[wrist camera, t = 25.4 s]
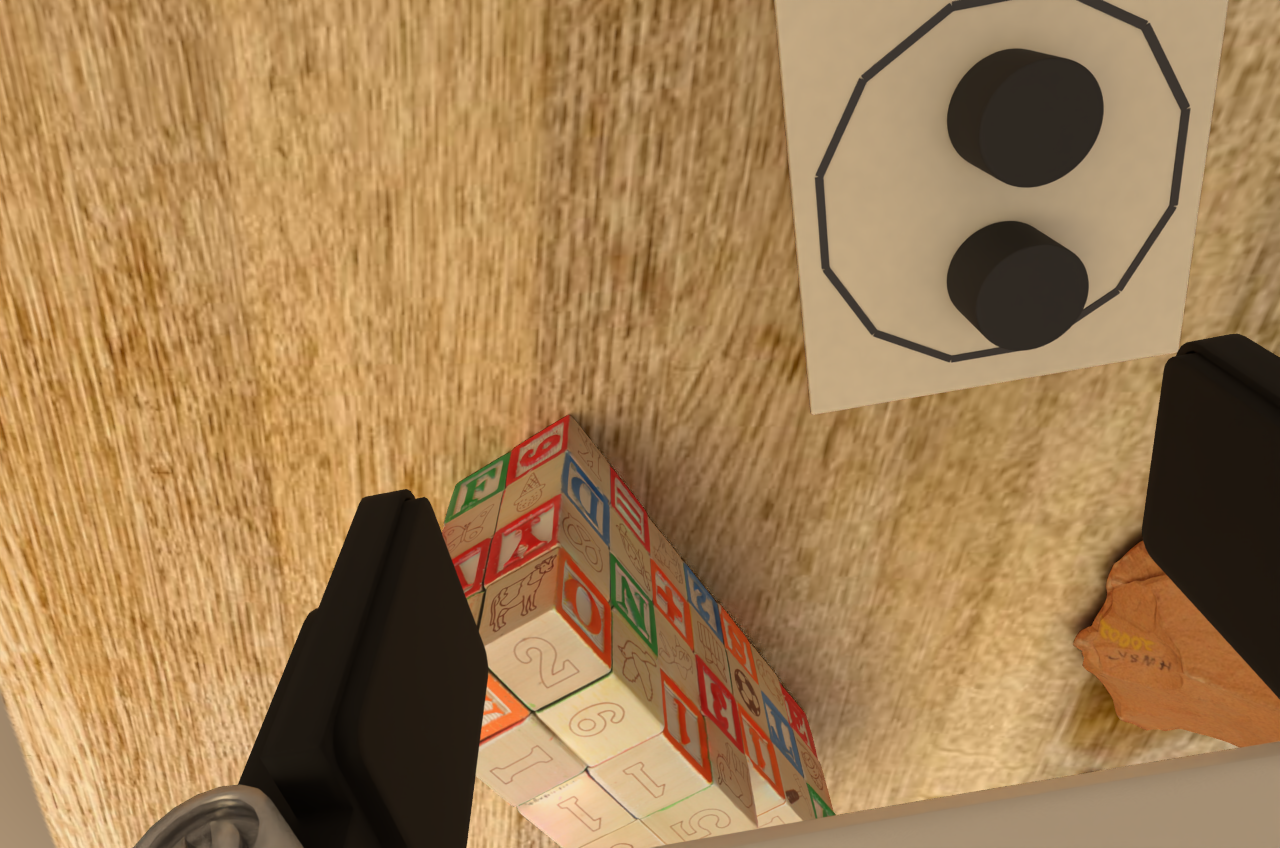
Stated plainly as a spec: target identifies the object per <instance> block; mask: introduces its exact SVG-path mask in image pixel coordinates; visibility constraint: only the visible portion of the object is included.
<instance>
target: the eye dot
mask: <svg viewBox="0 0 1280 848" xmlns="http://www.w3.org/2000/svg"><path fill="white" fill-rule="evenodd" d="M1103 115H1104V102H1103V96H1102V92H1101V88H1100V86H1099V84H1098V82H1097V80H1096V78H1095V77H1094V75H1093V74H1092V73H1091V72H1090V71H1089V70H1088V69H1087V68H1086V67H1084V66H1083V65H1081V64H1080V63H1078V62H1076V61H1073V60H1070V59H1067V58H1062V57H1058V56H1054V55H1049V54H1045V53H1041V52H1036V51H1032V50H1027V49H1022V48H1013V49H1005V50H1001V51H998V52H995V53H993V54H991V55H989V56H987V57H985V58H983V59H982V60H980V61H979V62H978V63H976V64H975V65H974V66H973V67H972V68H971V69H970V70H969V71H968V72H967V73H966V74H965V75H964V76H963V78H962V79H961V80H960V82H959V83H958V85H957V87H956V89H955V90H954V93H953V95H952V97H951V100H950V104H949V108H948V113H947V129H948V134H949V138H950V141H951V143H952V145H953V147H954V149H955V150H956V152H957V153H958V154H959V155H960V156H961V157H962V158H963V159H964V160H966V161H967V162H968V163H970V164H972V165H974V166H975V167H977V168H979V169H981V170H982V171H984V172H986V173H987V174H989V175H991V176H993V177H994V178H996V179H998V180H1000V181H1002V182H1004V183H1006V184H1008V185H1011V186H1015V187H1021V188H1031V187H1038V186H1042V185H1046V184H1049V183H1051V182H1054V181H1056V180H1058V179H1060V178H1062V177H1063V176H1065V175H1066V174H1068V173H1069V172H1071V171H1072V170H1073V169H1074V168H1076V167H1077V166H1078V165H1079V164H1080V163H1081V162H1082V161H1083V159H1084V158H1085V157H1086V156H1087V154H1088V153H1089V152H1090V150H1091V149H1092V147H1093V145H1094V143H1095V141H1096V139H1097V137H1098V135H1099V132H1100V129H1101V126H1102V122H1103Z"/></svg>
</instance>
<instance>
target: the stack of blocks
mask: <svg viewBox="0 0 1280 848" xmlns="http://www.w3.org/2000/svg"><path fill="white" fill-rule="evenodd" d="M442 535H443V538H444V540H445V543H446V546H447V548H448V551H449V554H450V556H451V559H452V562H453V564H454V567H455V570H456V572H457V575H458V578H459V580H460V583H461V586H462V588H463V591H464V594H465V596H466V599H467V601H468V604H469V607H470V609H471V612H472V615H473V617H474V620H475V623H476V625H477V628H478V631H479V633H480V636H481V639H482V641H483V644H484V647H485V650H486V654H487V660H488V682H487V690H486V698H485V705H484V713H483V721H482V729H481V737H480V744H479V752H478V760H477V768H476V777H478V778H479V779H480V780H481V781H483V782H484V783H485V784H486V785H487V786H488V787H490V788H491V789H492V790H493V791H494V792H495V793H497V794H498V795H499V796H500V797H502V798H503V799H504V800H505V801H506V802H508V803H509V804H510V805H512V806H513V807H517V809H518V812H519V813H520V814H522V815H523V816H524V817H525V818H526V819H527V820H528V821H530V822H531V823H532V824H534V825H535V826H536V827H537V828H538V829H539V830H540V831H541V832H543V833H544V834H545V835H547V836H548V837H549V838H550V839H552V840H553V841H554V842H555V843H556V844H557V845H559V846H560V847H561V848H650V847H656V846H662V845H668V844H673V843H679V842H685V841H690V840H696V839H702V838H708V837H713V836H719V835H725V834H731V833H736V832H742V831H748V830H754V829H759V828H765V827H771V826H777V825H782V824H788V823H794V822H800V821H805V820H811V819H817V818H823V817H828V816H834V815H835V813H834V812H833V808H832V804H831V800H830V797H829V793H828V789H827V786H826V782H825V778H824V775H823V771H822V767H821V764H820V762H819V761H818V758H817V754H816V749H815V746H814V741H813V737H812V734H811V730H810V727H809V724H808V721H807V717H806V714H805V713H804V711H803V710H802V709H801V708H800V707H799V705H798V704H797V703H796V702H795V701H794V699H793V698H792V697H791V696H790V695H789V693H788V692H787V691H786V690H785V688H783V686H782V685H781V683H780V682H779V680H778V677H777V676H776V675H775V673H774V672H773V671H772V670H771V668H770V667H769V666H768V665H767V663H766V662H765V661H764V660H763V658H762V657H761V656H760V655H759V653H758V652H757V651H756V650H755V648H754V647H753V646H752V645H751V644H750V643H749V641H748V639H747V638H746V637H745V635H744V634H743V633H742V631H741V630H740V629H739V628H738V626H737V625H736V624H735V623H734V621H733V620H732V619H731V617H730V616H729V615H728V614H727V612H726V611H725V610H724V609H723V607H722V606H721V605H720V604H718V603H716V602H715V600H714V598H713V597H712V596H711V595H710V593H709V592H708V591H707V590H706V589H705V587H704V586H703V585H702V583H701V582H700V581H699V580H698V578H697V577H696V576H695V575H694V573H693V572H692V571H691V569H690V568H689V567H688V566H687V564H686V563H685V562H683V561H682V560H681V558H680V556H679V555H678V554H677V552H676V551H675V550H674V549H673V547H672V546H671V545H670V544H669V542H668V541H667V540H666V539H665V537H664V536H663V535H662V534H661V532H660V531H659V530H658V529H657V527H656V526H655V525H654V524H653V522H652V521H651V520H650V519H649V518H648V516H647V513H646V511H645V510H644V508H643V507H642V506H641V504H640V503H639V502H638V500H637V499H636V498H635V496H634V495H633V494H632V493H631V491H630V490H629V489H628V488H627V486H626V485H625V484H624V483H623V481H622V480H621V479H620V477H619V476H618V475H617V473H616V472H615V471H614V470H613V468H612V467H610V466H609V464H608V462H607V460H606V459H605V458H604V456H603V455H602V454H601V452H600V451H599V450H598V449H597V447H596V446H595V445H594V443H593V442H592V441H591V440H590V438H589V437H588V436H587V435H586V433H585V432H584V431H583V429H582V428H581V427H580V426H579V424H578V423H577V422H576V421H575V420H574V418H573V417H571V416H570V415H568V416H566V417H564V418H562V419H560V420H559V421H557V422H555V423H554V424H552V425H550V426H549V427H547V428H545V429H544V430H542V431H541V432H539V433H537V434H536V435H534V436H532V437H531V438H529V439H528V440H526V441H524V442H523V443H521V444H520V445H518V446H517V447H515V448H514V449H513V450H512V451H511V452H510V453H507V454H506V455H504V456H502V457H500V458H498V459H497V460H495V461H494V462H492V463H490V464H489V465H487V466H485V467H484V468H482V469H480V470H479V471H477V472H475V473H474V474H472V475H470V476H469V477H467V478H465V479H464V480H462V481H460V482H459V483H457V485H456V486H455V489H454V492H453V495H452V498H451V501H450V504H449V507H448V510H447V514H446V517H445V521H444V529H443V532H442Z"/></svg>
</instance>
